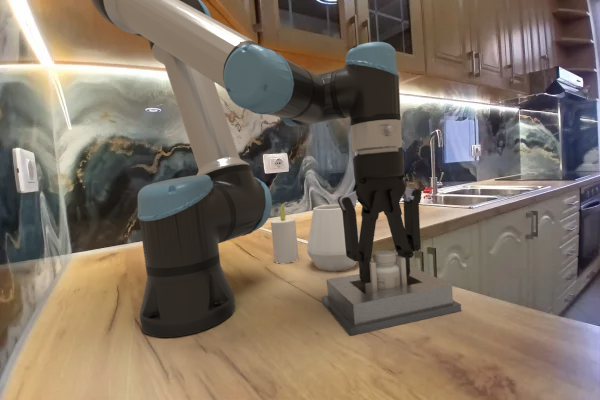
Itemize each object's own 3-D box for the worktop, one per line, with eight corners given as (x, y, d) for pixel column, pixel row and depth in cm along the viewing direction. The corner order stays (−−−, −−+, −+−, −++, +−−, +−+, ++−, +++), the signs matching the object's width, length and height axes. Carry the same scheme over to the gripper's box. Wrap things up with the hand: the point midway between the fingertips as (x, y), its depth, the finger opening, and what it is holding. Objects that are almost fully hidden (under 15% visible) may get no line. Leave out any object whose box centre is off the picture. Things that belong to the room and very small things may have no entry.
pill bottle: (395, 293, 53) (393, 248, 52) (405, 304, 49) (402, 255, 48) (369, 295, 53) (366, 250, 52) (377, 307, 49) (373, 257, 48)
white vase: (325, 254, 85) (321, 203, 84) (373, 259, 77) (370, 202, 76) (297, 270, 74) (291, 210, 73) (349, 277, 66) (344, 211, 65)
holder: (350, 335, 43) (348, 307, 43) (321, 302, 55) (320, 279, 54) (461, 310, 48) (460, 284, 47) (413, 284, 59) (412, 263, 59)
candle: (288, 255, 87) (284, 201, 86) (303, 259, 82) (298, 202, 81) (269, 260, 83) (264, 204, 82) (283, 265, 78) (278, 205, 77)
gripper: (332, 154, 43) (345, 319, 45) (442, 146, 47) (449, 296, 49) (315, 157, 50) (327, 299, 52) (412, 150, 55) (419, 281, 57)
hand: (386, 298), depth 51 cm, fingers closed on pill bottle, 4 cm apart
